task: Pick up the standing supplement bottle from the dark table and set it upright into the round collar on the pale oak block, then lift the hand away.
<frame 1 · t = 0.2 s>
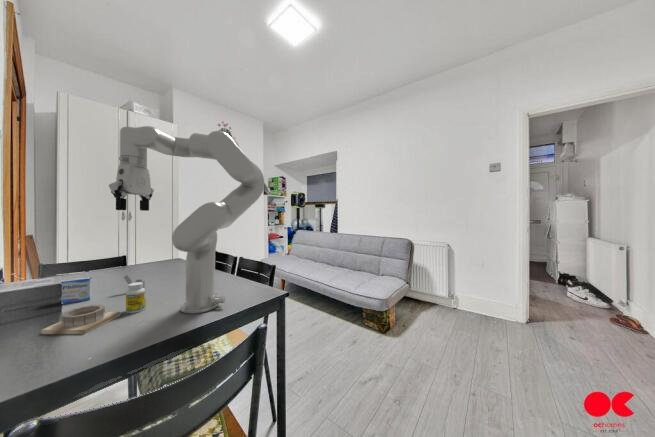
hand: (133, 210, 84), 36 cm above the table, tool pointing down, fingers open, 9 cm apart
supplement bottle: (135, 310, 82), on the table
lighter: (134, 292, 100), on the table
collar block: (84, 323, 72), on the table
medicine box: (76, 301, 90), on the table
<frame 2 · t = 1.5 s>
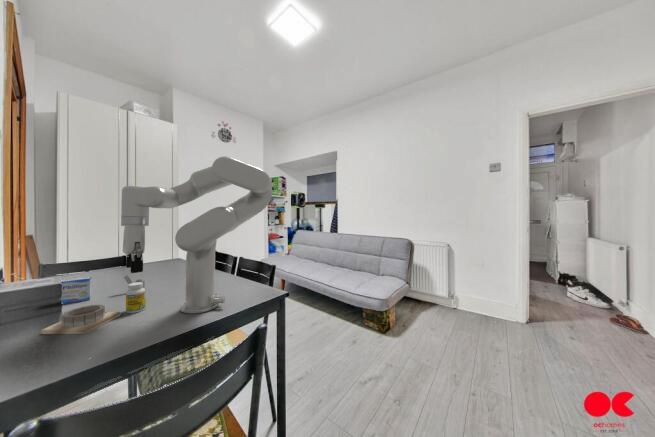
hand: (134, 269, 82), 15 cm above the table, tool pointing down, fingers open, 9 cm apart
nothing on the table moved.
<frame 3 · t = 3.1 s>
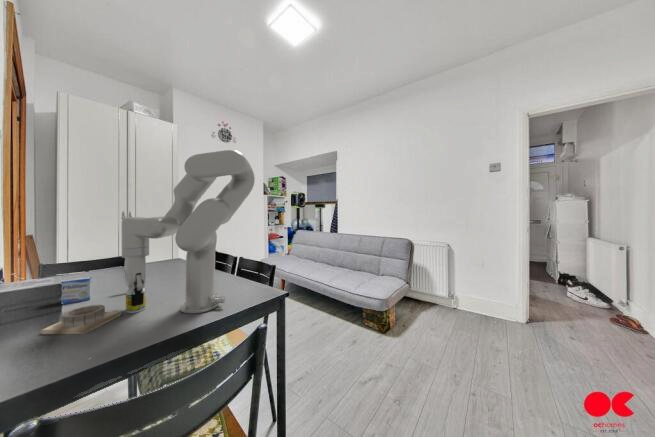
hand: (135, 302, 82), 3 cm above the table, tool pointing down, fingers closed on supplement bottle, 5 cm apart
supplement bottle: (135, 310, 82), on the table, touching gripper
everything else where it was.
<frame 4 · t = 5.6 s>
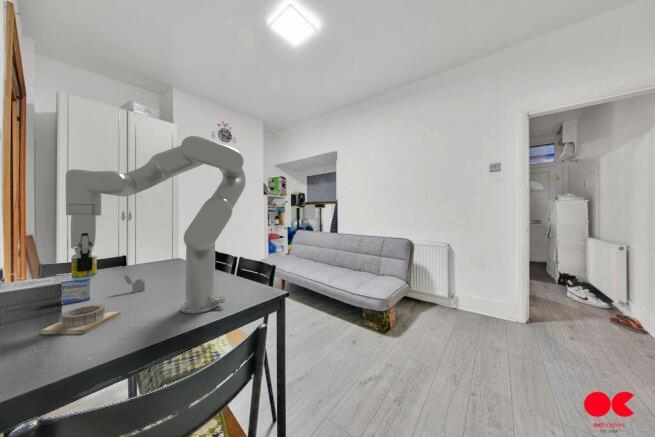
hand: (84, 268, 72), 17 cm above the table, tool pointing down, fingers closed on supplement bottle, 5 cm apart
supplement bottle: (84, 278, 72), point 14 cm above the table, touching gripper
everything else where it was.
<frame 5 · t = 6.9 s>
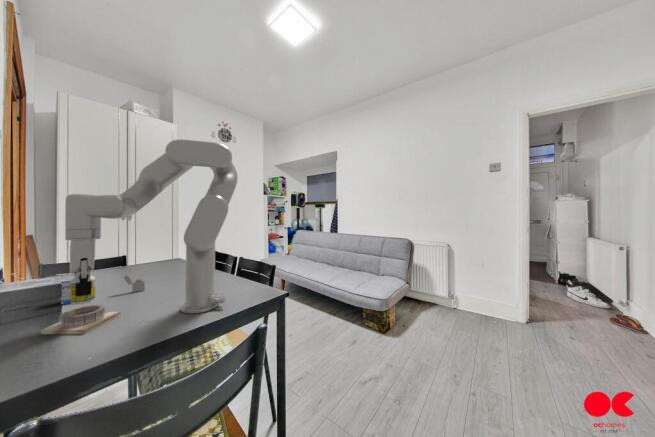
hand: (83, 292, 71), 10 cm above the table, tool pointing down, fingers closed on supplement bottle, 5 cm apart
supplement bottle: (83, 302, 72), point 7 cm above the table, touching gripper
everything else where it was.
when the fingers open (6 cm above the table, at t = 8.1 s): supplement bottle drops 2 cm, resting on collar block.
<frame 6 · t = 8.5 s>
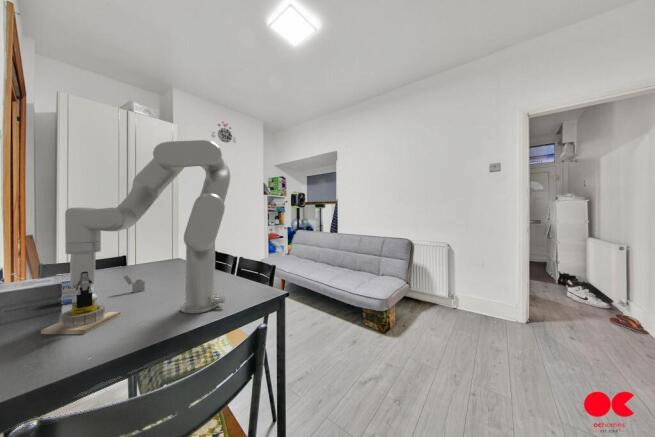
hand: (84, 302, 72), 7 cm above the table, tool pointing down, fingers open, 9 cm apart
supplement bottle: (84, 320, 72), point 1 cm above the table, touching collar block
everything else where it was.
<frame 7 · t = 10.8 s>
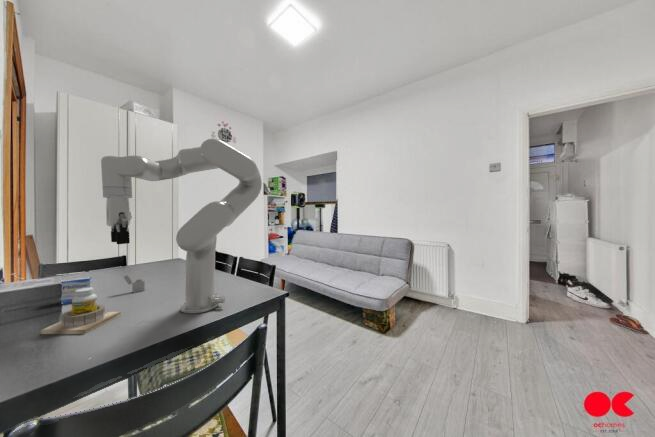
hand: (120, 242, 80), 24 cm above the table, tool pointing down, fingers open, 9 cm apart
nothing on the table moved.
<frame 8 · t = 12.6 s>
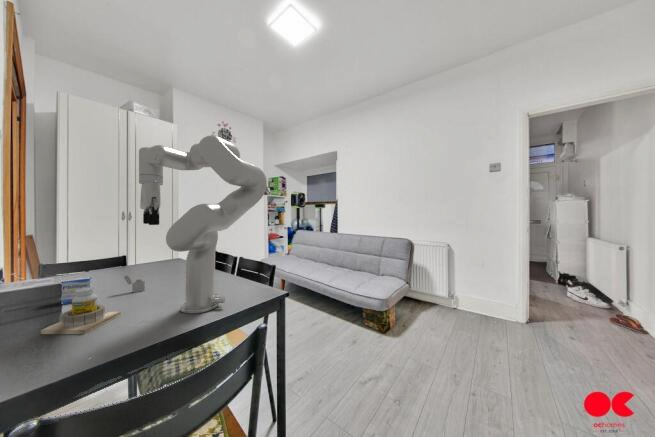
hand: (151, 224, 90), 30 cm above the table, tool pointing down, fingers open, 9 cm apart
nothing on the table moved.
at the end: supplement bottle 0.2 cm off-centre on the collar block, point 1.0 cm above the collar block's base; supplement bottle tilted 0°; the gripper is holding nothing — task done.
